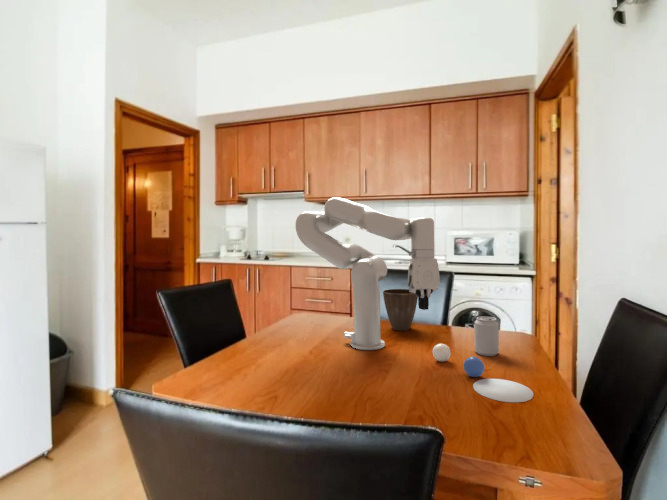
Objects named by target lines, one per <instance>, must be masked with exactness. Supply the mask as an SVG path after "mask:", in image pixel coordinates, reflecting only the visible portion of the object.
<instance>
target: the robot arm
mask: <svg viewBox="0 0 667 500" xmlns="http://www.w3.org/2000/svg"><path fill="white" fill-rule="evenodd" d="M342 224H345V225H348V226H352V227H354V228H357V229H359V230H362V231H365V232H368V233H370V234H372V235H376V236H378V237H381V238H385V239H387V240H391V241H404V240H410V243H411V245H410V246H411V250H410V251H409V252H408V256H409V257H411V259H409V263H408V269H407V270H408V271H407V285H408V289H409V292H412V293H415V294H416V295H417V297H418V299H417V304H418V308H419V309H418V310H422V311H426V310H429V303H430V302H429V298H430V297H431V294H432V293H434V292H436V291H437V290H438V288H439V287H440V285H441V281H440V280H441V279H440V278H441V277H440V268H439V262H438V259H437V258H435V220H434V219H433V218H431V217H415V218H411V219H410V218H405V217H404V218H403V217H402V218H401V217H395V216H391V215H388V214H385V213H382V212H379V211H377V210H374V209H372V208H371V207H370V206H367V205H365V204H361V203H358V202H355V201H352V200H349V199H348V198H344V197H343V198H342V197H337V196H336V197H335V196H334V197H331V198H329V199H328V200H327V201H326V202H325V204H324V210H322V211H316V210H315V211H312V210H307V211H303V212H302V213H300V214H299V215H298V216H297V217H296V220H295V232H296V235H297V237H298V239H299V240H300V242H301V243H302V244H303V245H304V246H305V247H306V248H308V250H310V251H312V252H313V253H315V254H316V255H318V256H319V257H321V258H322V259H324V260H326V261H327V262H329V263H330V264H332V265H333V266H335V267H336V268H338V269H340V270H348V269H351V271H350V272H351V273H350V275H351V283H352V291H353V323H354V324H353V329H354V331H352V332H349V331H344V334H343V336H344V339H350V343H349V345H351V346H352V348H353V349H355V348H356V350H360V351H375V350H380V349H383V348H384V347H385V346H386V342H385V340H383V339H381V337H382V336H381V335H382V334H381V292H380V285H379V282H380V281H382V280H384V279H385V278H386V276H387V274H388V267H387V264H386V262H385V261H384V259H382V258H381V257H379V256H377V255H376V254H374V253H373V252H371V251H369V250H367V249H366V248H365V247H362V246H360V245H359V244H356V243H344V242H341V241H339V240H337V239H336V238H334V237H333V236H332V235H329V234H327V232H329V231H331V230H333V229H335V228H337V227H339V226H342ZM351 346H350V347H351Z"/></svg>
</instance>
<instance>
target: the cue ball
mask: <svg viewBox="0 0 667 500" xmlns="http://www.w3.org/2000/svg"><path fill="white" fill-rule="evenodd" d="M432 355H433V357H434V358H435V360H436V361H438V362H443V363H444V362H447V361H448V360H449V359H450V357H451V349H450V346H448V345H447V344H444V343H436V344H435V345H434V346H433V348H432Z"/></svg>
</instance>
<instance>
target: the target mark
mask: <svg viewBox="0 0 667 500" xmlns="http://www.w3.org/2000/svg"><path fill="white" fill-rule="evenodd" d="M472 388H473V390H474V391H475V392H476V393H477V394H479V395H481V396H482V397H484V398H487V399H490V400H494V401H499V402H502V403H524V402H527V401H531V399H533V398H534V391H532V389H530V387H528V386H526V385H524V384H522V383H519V382H516V381H513V380H507V379H502V378H483V379H479V380H476V381H475V382H474V383H473V385H472Z"/></svg>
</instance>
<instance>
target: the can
mask: <svg viewBox="0 0 667 500" xmlns="http://www.w3.org/2000/svg"><path fill="white" fill-rule="evenodd" d="M499 325H500V324H499V322H498V321H497V318H496V317H492V316H485V315H484V316H477V317H476V320H475V321H474V351H475V352H476V353H477V354H478V355H480V356H483V357H484V356H485V357H494V356H496V355H497V354H499V352H500V348H499V345H500V343H499V339H500V336H499V335H500V329H499V327H500V326H499Z"/></svg>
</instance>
